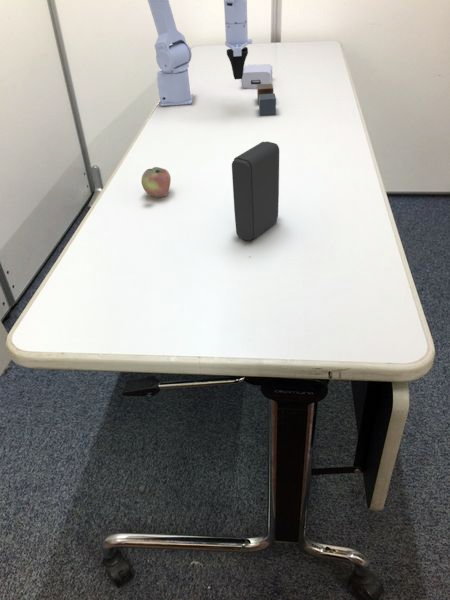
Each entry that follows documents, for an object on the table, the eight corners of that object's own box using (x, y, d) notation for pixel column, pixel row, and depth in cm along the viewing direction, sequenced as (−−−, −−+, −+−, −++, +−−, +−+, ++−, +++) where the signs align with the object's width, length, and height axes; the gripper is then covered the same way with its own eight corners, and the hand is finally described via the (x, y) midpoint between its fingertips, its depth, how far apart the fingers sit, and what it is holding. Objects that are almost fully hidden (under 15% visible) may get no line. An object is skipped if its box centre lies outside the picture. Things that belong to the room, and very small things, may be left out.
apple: (140, 205, 94) (135, 178, 90) (147, 187, 100) (142, 161, 96) (169, 204, 94) (165, 177, 90) (174, 186, 100) (171, 160, 96)
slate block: (259, 115, 128) (259, 99, 125) (259, 110, 132) (258, 94, 129) (275, 114, 128) (275, 98, 125) (274, 109, 131) (274, 93, 129)
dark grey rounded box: (263, 215, 88) (262, 137, 79) (280, 221, 86) (282, 142, 77) (233, 237, 83) (228, 157, 74) (251, 244, 81) (248, 163, 71)
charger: (273, 74, 157) (270, 87, 146) (246, 74, 159) (241, 88, 148) (273, 58, 154) (270, 71, 143) (245, 59, 156) (240, 72, 145)
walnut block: (258, 105, 135) (257, 89, 132) (257, 100, 138) (257, 84, 136) (273, 104, 135) (273, 88, 132) (272, 99, 138) (272, 83, 135)
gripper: (252, 26, 113) (253, 85, 121) (250, 15, 123) (251, 70, 132) (224, 28, 113) (227, 87, 122) (224, 17, 124) (227, 71, 133)
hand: (238, 78), depth 127 cm, fingers closed
